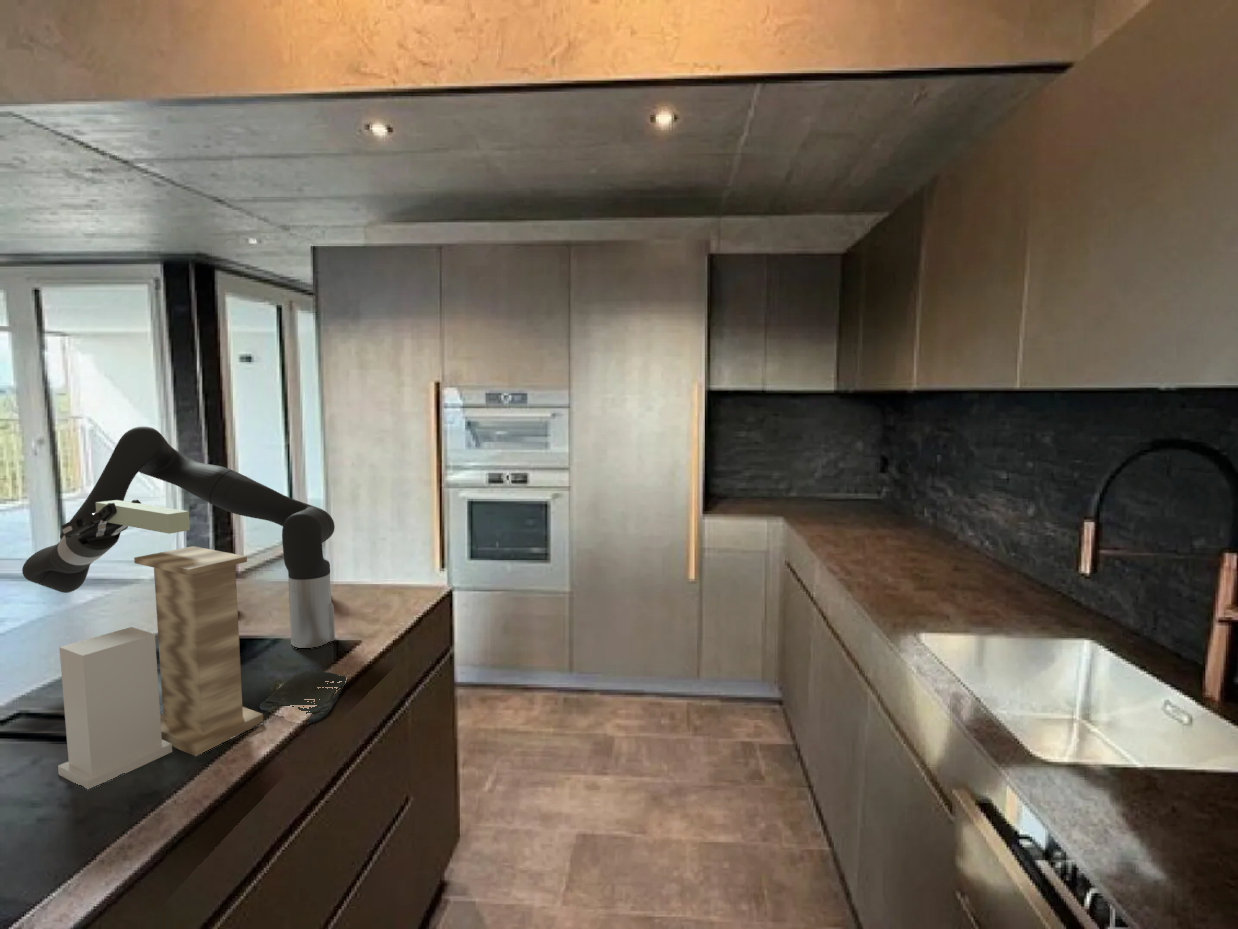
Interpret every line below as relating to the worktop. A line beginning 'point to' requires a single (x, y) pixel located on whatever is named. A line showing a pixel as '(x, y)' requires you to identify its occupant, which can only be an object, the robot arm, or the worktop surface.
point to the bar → (148, 516)
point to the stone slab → (308, 692)
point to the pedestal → (111, 706)
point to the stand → (199, 647)
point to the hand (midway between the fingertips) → (126, 505)
